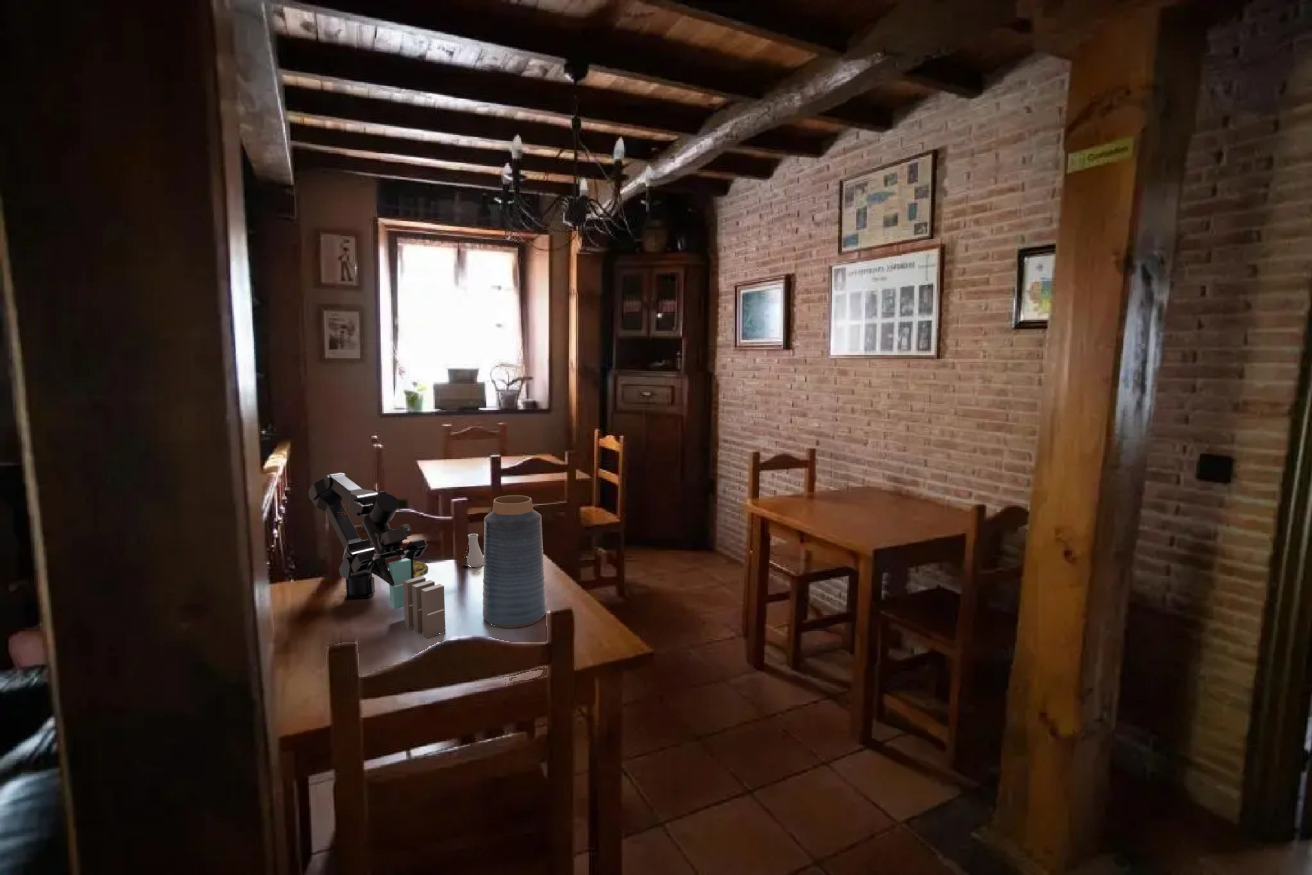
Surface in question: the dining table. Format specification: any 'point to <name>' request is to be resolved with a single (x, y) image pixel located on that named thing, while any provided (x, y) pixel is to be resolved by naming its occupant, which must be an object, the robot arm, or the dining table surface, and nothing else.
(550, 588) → the dining table surface
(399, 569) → the teal domino
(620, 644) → the dining table surface
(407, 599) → the domino
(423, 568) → the seal
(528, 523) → the vase
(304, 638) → the dining table surface
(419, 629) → the domino
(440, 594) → the domino
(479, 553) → the flask
